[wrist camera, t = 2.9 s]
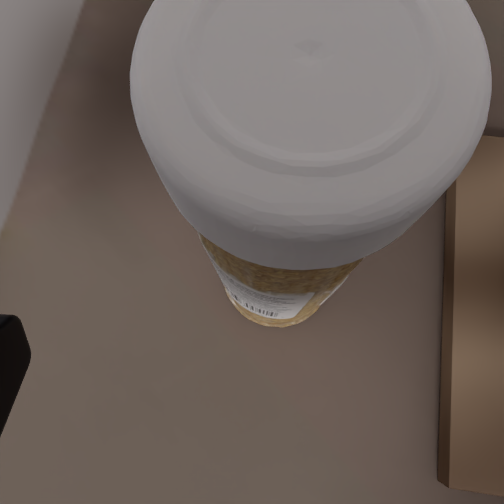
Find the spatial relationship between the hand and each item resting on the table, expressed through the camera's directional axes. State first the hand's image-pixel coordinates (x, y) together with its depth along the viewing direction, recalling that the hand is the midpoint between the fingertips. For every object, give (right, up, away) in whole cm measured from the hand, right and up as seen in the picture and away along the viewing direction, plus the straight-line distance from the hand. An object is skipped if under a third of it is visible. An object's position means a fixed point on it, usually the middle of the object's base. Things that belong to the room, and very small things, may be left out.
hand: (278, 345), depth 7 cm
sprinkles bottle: (+1, +1, +11) cm, 11 cm away
